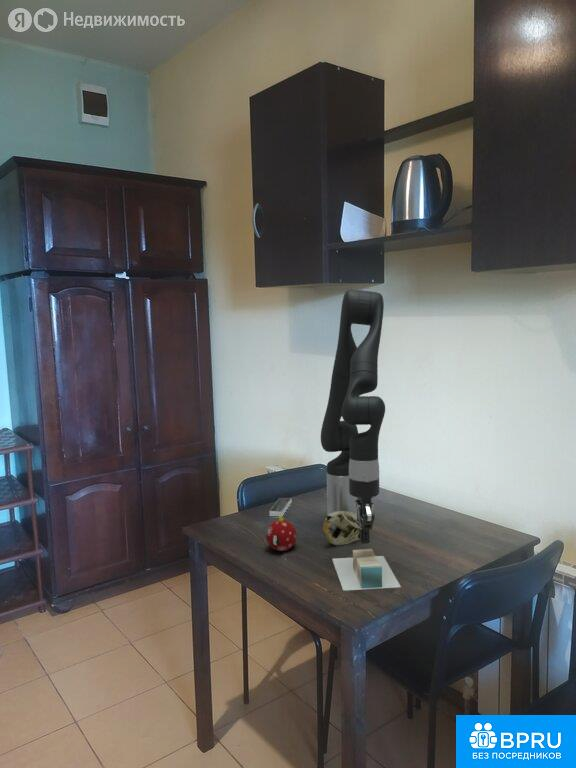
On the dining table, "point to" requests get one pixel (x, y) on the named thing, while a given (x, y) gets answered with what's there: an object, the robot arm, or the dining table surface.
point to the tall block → (367, 568)
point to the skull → (342, 527)
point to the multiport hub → (280, 507)
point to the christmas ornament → (281, 535)
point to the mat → (350, 579)
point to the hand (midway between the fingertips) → (364, 542)
